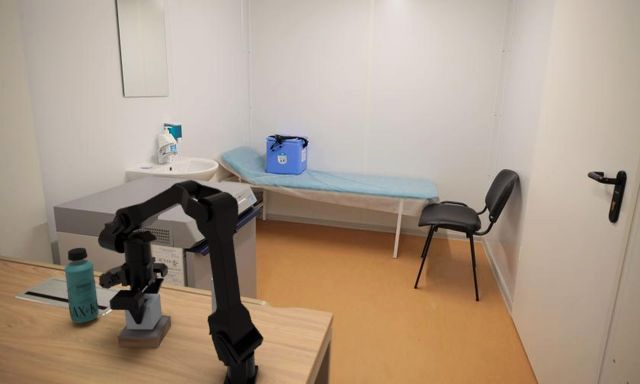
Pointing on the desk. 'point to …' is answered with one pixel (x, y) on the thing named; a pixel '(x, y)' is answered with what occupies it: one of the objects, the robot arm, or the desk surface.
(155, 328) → the base
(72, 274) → the beverage bottle
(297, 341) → the desk surface
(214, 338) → the robot arm
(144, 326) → the cube
